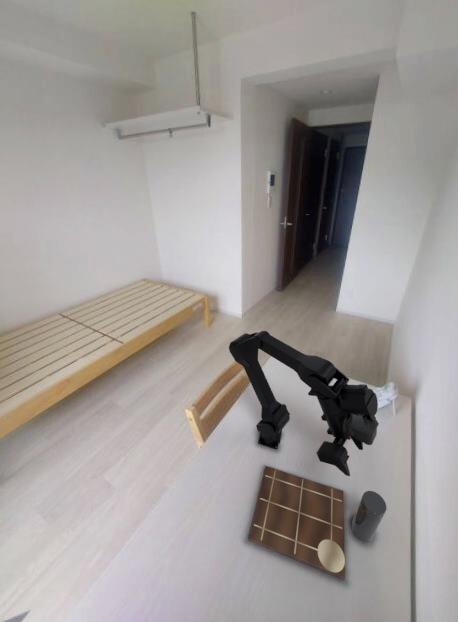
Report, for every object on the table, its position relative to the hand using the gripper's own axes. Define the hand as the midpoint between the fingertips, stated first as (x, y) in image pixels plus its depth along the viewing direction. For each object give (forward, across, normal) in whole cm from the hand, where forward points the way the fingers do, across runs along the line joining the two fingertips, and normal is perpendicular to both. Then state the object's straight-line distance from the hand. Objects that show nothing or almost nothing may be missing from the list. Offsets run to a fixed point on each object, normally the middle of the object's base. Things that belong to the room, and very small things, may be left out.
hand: (354, 461), depth 69 cm
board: (+9, -14, +13) cm, 21 cm away
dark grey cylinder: (+15, -6, +1) cm, 17 cm away
